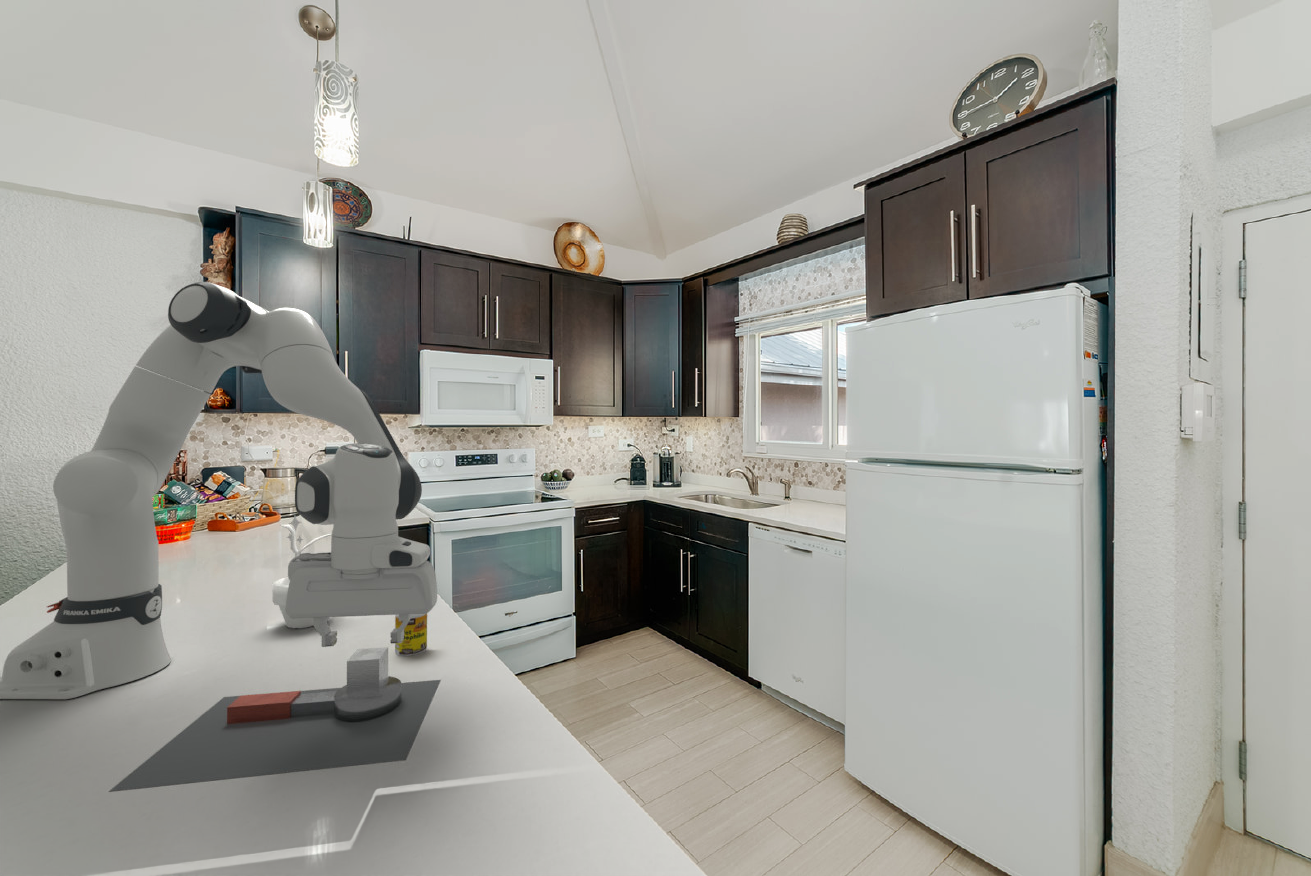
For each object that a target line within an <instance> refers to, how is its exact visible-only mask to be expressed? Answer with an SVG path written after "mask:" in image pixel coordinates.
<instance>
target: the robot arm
mask: <svg viewBox="0 0 1311 876" xmlns="http://www.w3.org/2000/svg"><path fill="white" fill-rule="evenodd" d="M167 318H168V322H169V324H170V325H168V326H167V327H166V328H164V330H163V331H162V332H161V333H160V334H159V335H158V336H157V337H156V338H155V339H154V340H153V341H152V343H150V345H149V346H148V347H147V349H146V350H145V351H144V352H143V354H142V355H141V356H140V358H139V360H138V361H137V362H136V364H135V366H134V367H133V369H132V370H131V372H130V373H129V375H128V377H127V379H126V380H125V382H124V383H123V385H122V386H121V388H120V389H119V391H118V393H117V395H116V396H115V398H114V400H113V401H112V403H111V404H110V406H109V409H108V413H107V415H106V418H105V420H104V423H103V425H102V427H101V430H100V432H99V435H98V436H97V439H96V440H95V443H94V444H93V447H92V448H91V449H90V451H87V452H84V453H81V454H78V455H77V456H75V457H74V456H73V458H71V459H69V460H67V462H66V463H64V465H63V466H62V467H61V468H60V469H59V470H58V472H57V473H56V475H55V478H54V481H53V485H52V486H53V487H52V488H53V489H52V490H53V493H54V497H55V499H56V502H57V503H56V504H57V508H58V511H57V512H58V516H59V521H60V526H61V532H62V534H63V539H64V544H65V548H66V549H65V551H66V586H67V587H66V588H67V591H66V593H67V597H64V598H62V599H61V600H59V601H58V602H55V603H53V604H50V605H47V606H46V608H49V609H48V610H47V611H46V614H49V613H51V612H55V611H57V612H56V614H55V615H54V618H53V621H52V622H51V623H49V624H47V625H46V626H45V627H44V628H42V629H41V630H39V631H37V632H35V633H34V634H33V635H32V636H30V637H28V638H26V640H24V641H23V642H21V643H19V644H18V645H17V646H16V647H14V648H12V650H10V652H9V653H8V655H7V656H6V659H5V660H4V664H3V668H2V675H1V677H0V700H68V699H69V700H70V699H73V698H77V697H82V696H84V695H87V694H90V693H93V692H95V691H99V690H102V689H108V688H111V687H115V686H120V685H123V684H126V683H129V682H134V681H135V680H139V679H142V678H145V677H148V676H149V675H152V674H154V673H156V672H158V671H160V670H162V669H164V668H165V667H167V666H169V664H170V663H171V661H172V657H171V656H170V655H171V654H170V653H169V651H168V648H167V645H166V642H165V638H164V633H163V628H162V620H161V616H162V610H163V589H162V588H163V586H162V585H161V584H160V583H159V581H160V579H159V577H160V576H159V539H158V535H157V530H156V529H157V528H156V522H155V516H154V515H155V514H154V507H153V506H154V503H153V498H154V496H156V495H157V494H158V492H159V491H160V490H161V488H162V486H163V485H164V483H165V480H166V479H167V477H168V475H169V473H170V471H171V469H172V467H173V465H174V464H175V462H176V459H177V458H178V455H179V453H180V451H181V449H182V448H183V446H184V444H185V441H186V439H187V437H188V434H190V431H191V430H192V428H193V425H194V424H195V422H196V421H197V419H198V417H199V416H200V413H201V412H202V410H203V408H204V407H205V405H206V404H207V401H208V400H209V399H210V396H212V395H211V394H212V393H213V391H214V390H215V387H216V385H217V383H218V382H219V379H220V378H221V376H222V375H223V374H224V372H226V371H227V370H229V369H231V368H233V367H240V368H241V370H242V371H243V372H244V374H261V375H262V377H263V382H264V384H265V386H266V387H265V388H266V389H267V390H268V393H269V394H270V396H271V397H272V398H273V400H274V401H275V402H276V403H278V404H279V405H281V406H282V407H283V408H285V409H287V410H289V411H290V412H293V413H296V414H299V415H301V416H306V417H311V418H315V419H317V420H322V421H323V422H327V423H330V424H333V425H335V426H337V427H340V428H342V429H343V430H345V431H346V432H348V433H349V434H351V435H352V436H353V438H354V440H355V441H356V443H348V444H344V445H342V446H341V445H340V446H339V447H338V448H337V450H336V452H335V454H334V455H335V456H333V458H331V459H330V460H328V461H326V462H324V463H321V464H319V465H312V466H310V467H308V469H306V470H305V471H304V472H303V473H302V474H301V475H300V476H299V478H297V480H296V482H295V486H294V487H295V488H294V505H295V510H296V512H297V514H299V516H300V517H302V518H303V519H304V520H305V521H306V522H309V523H310V524H312V525H320V526H330V525H333V527H332V531H331V533H332V534H331V533H330V534H331V536H330V537H331V538H330V539H331V541H330V543H331V544H330V546H331V547H330V552H317V553H311V552H301V554H300V555H299V556H297V557H295V556H294V557H293V558H292V559H291V560H290V561H289V563H288V565H287V576H288V578H289V580H290V583H289V587H288V592H287V598H286V609H285V610H286V613H287V614H288V616H289V617H290V618H292V619H296V618H313V625H314V626H313V627H314V629H315V630H316V632H317V633H318V634H319V635H320V637H321V647H322V648H326V647H334V646H335V645H336V644H337V642H338V638H337V636H338V631H337V630H331V628H330V626H329V624H328V622H327V621H328V620H330V618H345V617H346V618H347V617H364V616H365V617H369V616H370V617H371V616H372V617H373V616H392V615H393V616H395V615H399V621H403V622H402V624H401V625H400V627H399V628H396V629H395V628H393V629H392V630H391V632H390V641H389V642H390V644H393V645H394V644H395V643H402V641H403V640H404V629H405V627H406V626H407V624H408V622H409V621H410V619H411V617H412V614H425V613H427V614H428V613H430V612H431V611H432V610H433V608H434V607H435V606H436V604H437V601H438V585H437V583H438V582H437V577H436V571H435V567H434V565H433V564H432V563H431V562H430V560H428V559H429V557H430V554H431V547H430V546H429V545H428V544H426V543H422V542H418V541H416V540H415V541H414V540H411V539H408V538H404V537H401V536H399V525H398V522H397V521H398V520H402V519H405V518H406V517H407V516H409V514H410V513H412V512H413V510H414V509H415V508H416V507H417V505H418V504H419V502H420V500H421V497H422V492H423V489H422V488H423V487H422V482H421V479H420V476H419V475H418V473H417V471H416V470H415V469H414V467H413V466H412V464H410V462H408V461H407V459H406V458H405V456H404V454H403V453H402V452H401V450H400V448H399V446H398V444H397V443H396V441H395V440H394V438H393V435H392V434H391V432H390V430H389V429H388V428H389V427H387V425H386V423H385V421H384V419H383V418H382V416H381V415H380V413H379V411H378V409H377V408H376V406H375V404H374V402H373V401H372V400H371V398H370V396H369V395H368V394H367V393H366V392H364V390H362V389H360V388H359V387H358V386H357V385H355V384H354V383H353V382H352V381H351V380H350V379H349V378H348V377H347V376H346V374H344V372H343V371H342V370H341V368H340V367H339V365H338V363H337V362H336V359H335V355H334V353H333V350H332V348H331V346H330V343H329V341H328V340H327V338H326V335H325V333H324V332H323V330H322V328H321V327H320V325H319V324H318V322H317V320H316V319H315V318H313V316H311V314H309V313H307V312H306V311H303V310H301V309H297V308H293V307H292V308H291V307H279V308H276V309H272V310H270V311H269V310H267V309H266V308H264V307H263V306H260V305H257V304H256V303H253V302H252V301H251V300H248V299H246V298H244V297H242V296H239V295H238V294H237V293H236V292H235V291H232V290H231V289H229V288H227V287H224V286H221V285H218V284H215V283H212V282H209V281H208V282H207V281H197V282H193V283H191V284H187V285H186V286H183V287H182V288H180V290H178V291H177V292H176V293H175V294H174V295H173V297H172V298H171V300H170V302H169V305H168V310H167ZM297 559H299V560H298V561H295V560H297ZM51 607H52V608H51Z"/></svg>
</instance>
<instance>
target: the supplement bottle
mask: <svg viewBox="0 0 1311 876" xmlns="http://www.w3.org/2000/svg"><path fill="white" fill-rule="evenodd" d="M394 616H395V617H394V618H395V619H394V621H395V624H394V625H395V626H394V629H396V628H399V627H400V625H401V624H402V622H403V621H399V615H394ZM427 647H428V613H425V614H412V617H411V619H410V621H409V622H408V624H407V626H406V627H405V629H404V640H403V641H402V643H394V648H395V649H394V652H395V655H397V656H401V657H407V656H413V655H418V654H420V653H423V652H425V651H427Z"/></svg>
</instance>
